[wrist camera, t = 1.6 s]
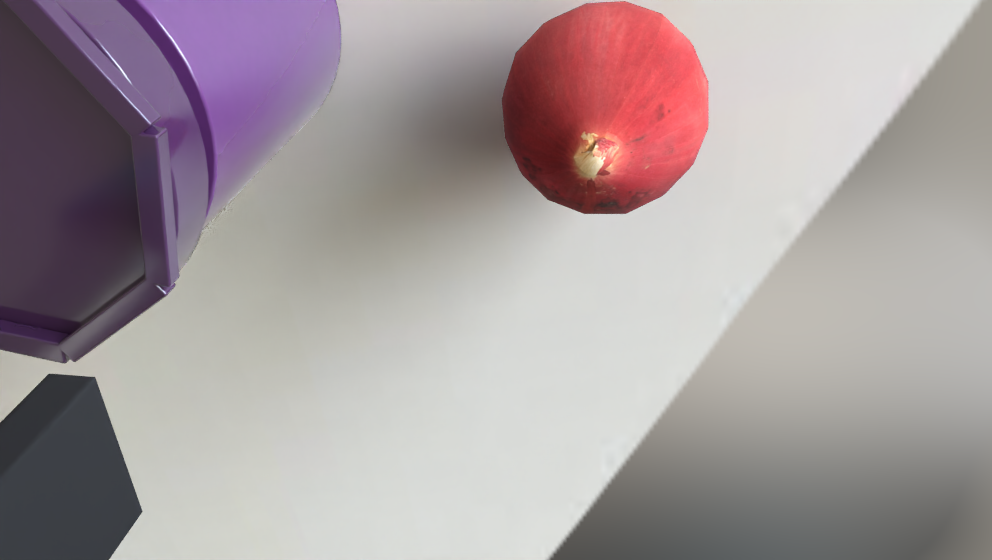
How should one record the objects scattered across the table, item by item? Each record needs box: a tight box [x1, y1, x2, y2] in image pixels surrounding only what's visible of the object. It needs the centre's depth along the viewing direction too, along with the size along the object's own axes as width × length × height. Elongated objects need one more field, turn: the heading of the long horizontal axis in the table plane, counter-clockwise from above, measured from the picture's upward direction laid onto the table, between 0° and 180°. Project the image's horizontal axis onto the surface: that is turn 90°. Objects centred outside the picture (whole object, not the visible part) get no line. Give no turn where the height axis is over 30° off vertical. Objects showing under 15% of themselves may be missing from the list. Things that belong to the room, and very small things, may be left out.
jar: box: [0, 0, 341, 363], centre depth 25 cm, size 10×10×13 cm
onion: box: [502, 1, 708, 214], centre depth 25 cm, size 6×6×8 cm
